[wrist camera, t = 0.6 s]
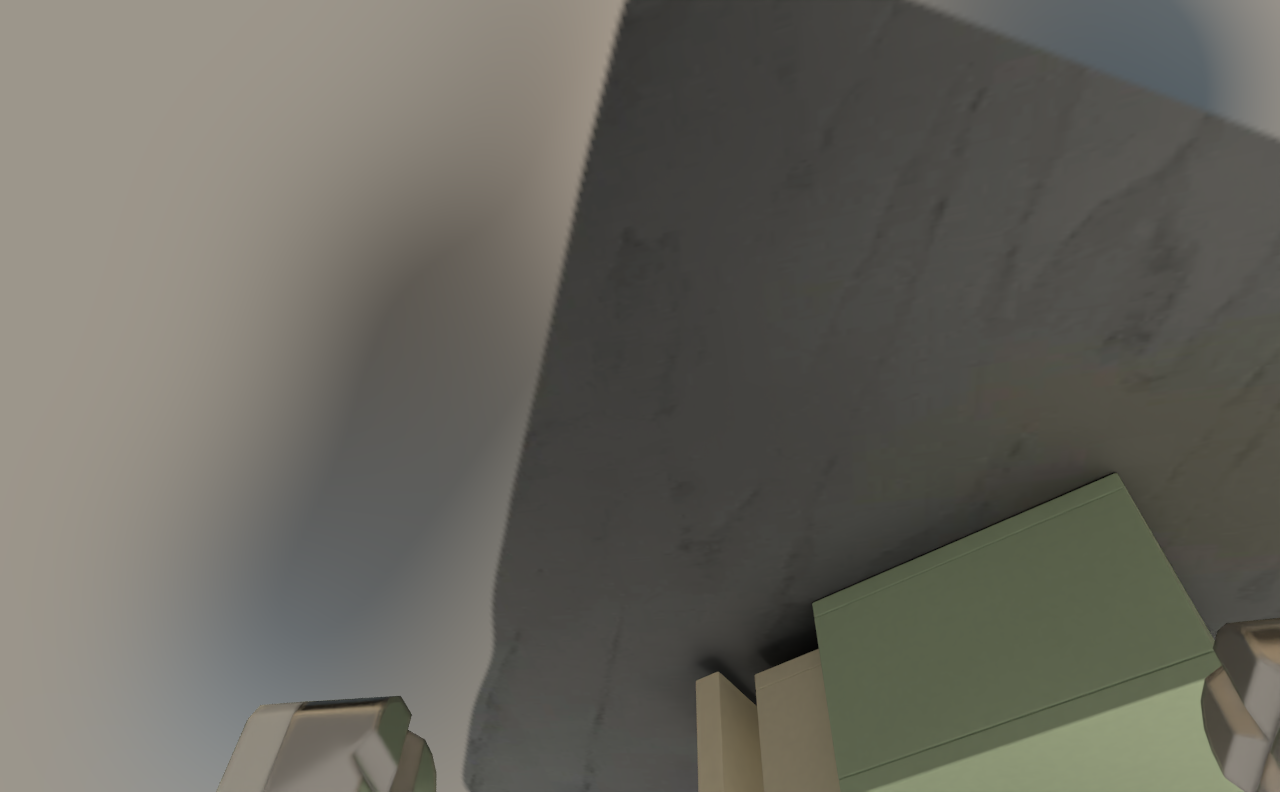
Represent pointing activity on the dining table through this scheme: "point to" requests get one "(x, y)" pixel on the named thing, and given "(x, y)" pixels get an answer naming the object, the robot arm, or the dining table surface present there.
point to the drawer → (767, 732)
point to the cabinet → (1024, 662)
